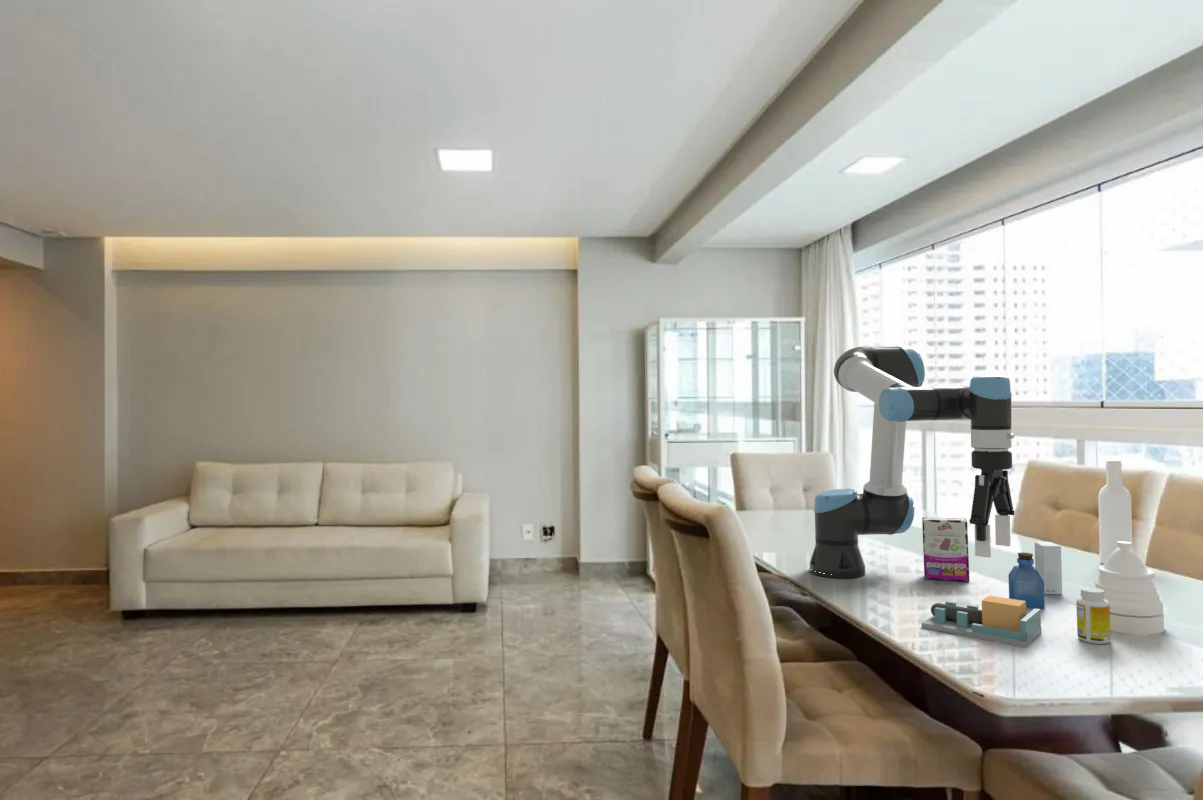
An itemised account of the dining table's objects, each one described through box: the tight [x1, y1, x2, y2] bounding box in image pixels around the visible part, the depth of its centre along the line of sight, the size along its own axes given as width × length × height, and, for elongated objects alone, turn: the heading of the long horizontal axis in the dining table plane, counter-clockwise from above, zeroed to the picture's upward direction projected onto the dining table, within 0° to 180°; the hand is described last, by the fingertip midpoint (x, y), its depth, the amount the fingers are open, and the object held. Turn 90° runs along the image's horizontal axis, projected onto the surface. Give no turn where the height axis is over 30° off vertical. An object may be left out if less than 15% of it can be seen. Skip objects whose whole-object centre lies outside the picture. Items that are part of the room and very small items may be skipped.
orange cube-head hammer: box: [930, 595, 1027, 631], centre depth 156 cm, size 18×5×6 cm, turn 46°
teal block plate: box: [921, 600, 1042, 648], centre depth 155 cm, size 20×12×5 cm, turn 46°
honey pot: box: [1093, 541, 1165, 635], centre depth 157 cm, size 13×13×18 cm
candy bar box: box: [921, 516, 970, 583], centre depth 200 cm, size 11×5×16 cm, turn 68°
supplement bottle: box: [1075, 586, 1112, 645], centre depth 147 cm, size 6×6×10 cm
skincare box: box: [1034, 541, 1063, 595], centre depth 184 cm, size 6×4×12 cm
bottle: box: [1097, 459, 1134, 565], centre depth 212 cm, size 8×8×30 cm
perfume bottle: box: [1008, 552, 1046, 610], centre depth 173 cm, size 6×6×12 cm
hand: (993, 550), depth 154 cm, fingers open, 13 cm apart
